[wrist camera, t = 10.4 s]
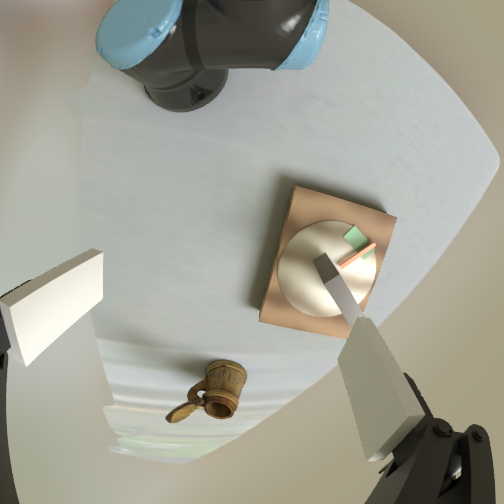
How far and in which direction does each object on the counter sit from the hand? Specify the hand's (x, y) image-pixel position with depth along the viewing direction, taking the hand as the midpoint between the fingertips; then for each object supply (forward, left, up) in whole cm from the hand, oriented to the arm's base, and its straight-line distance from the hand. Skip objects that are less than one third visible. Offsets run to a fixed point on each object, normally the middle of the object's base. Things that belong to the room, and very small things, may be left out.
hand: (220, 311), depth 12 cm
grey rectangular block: (+3, +17, -30) cm, 35 cm away
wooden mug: (+36, 0, -35) cm, 50 cm away
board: (+6, +14, -35) cm, 38 cm away
